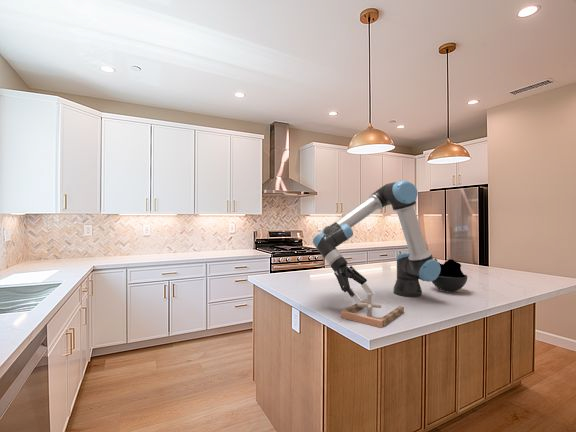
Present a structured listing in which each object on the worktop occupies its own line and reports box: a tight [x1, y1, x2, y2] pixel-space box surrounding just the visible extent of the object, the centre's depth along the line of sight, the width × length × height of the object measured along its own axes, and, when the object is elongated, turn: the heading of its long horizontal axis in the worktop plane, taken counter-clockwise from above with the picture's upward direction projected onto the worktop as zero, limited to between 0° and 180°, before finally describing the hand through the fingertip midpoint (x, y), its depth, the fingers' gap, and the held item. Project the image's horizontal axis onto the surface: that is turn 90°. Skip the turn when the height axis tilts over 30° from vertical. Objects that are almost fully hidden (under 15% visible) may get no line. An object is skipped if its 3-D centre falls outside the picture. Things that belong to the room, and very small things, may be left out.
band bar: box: [340, 310, 384, 328], centre depth 123 cm, size 2×18×2 cm, turn 49°
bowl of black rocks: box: [431, 258, 468, 293], centre depth 174 cm, size 20×20×19 cm
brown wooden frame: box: [341, 299, 405, 327], centre depth 132 cm, size 23×19×2 cm
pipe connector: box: [358, 293, 382, 317], centre depth 129 cm, size 10×10×10 cm
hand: (366, 298), depth 129 cm, fingers open, 13 cm apart
